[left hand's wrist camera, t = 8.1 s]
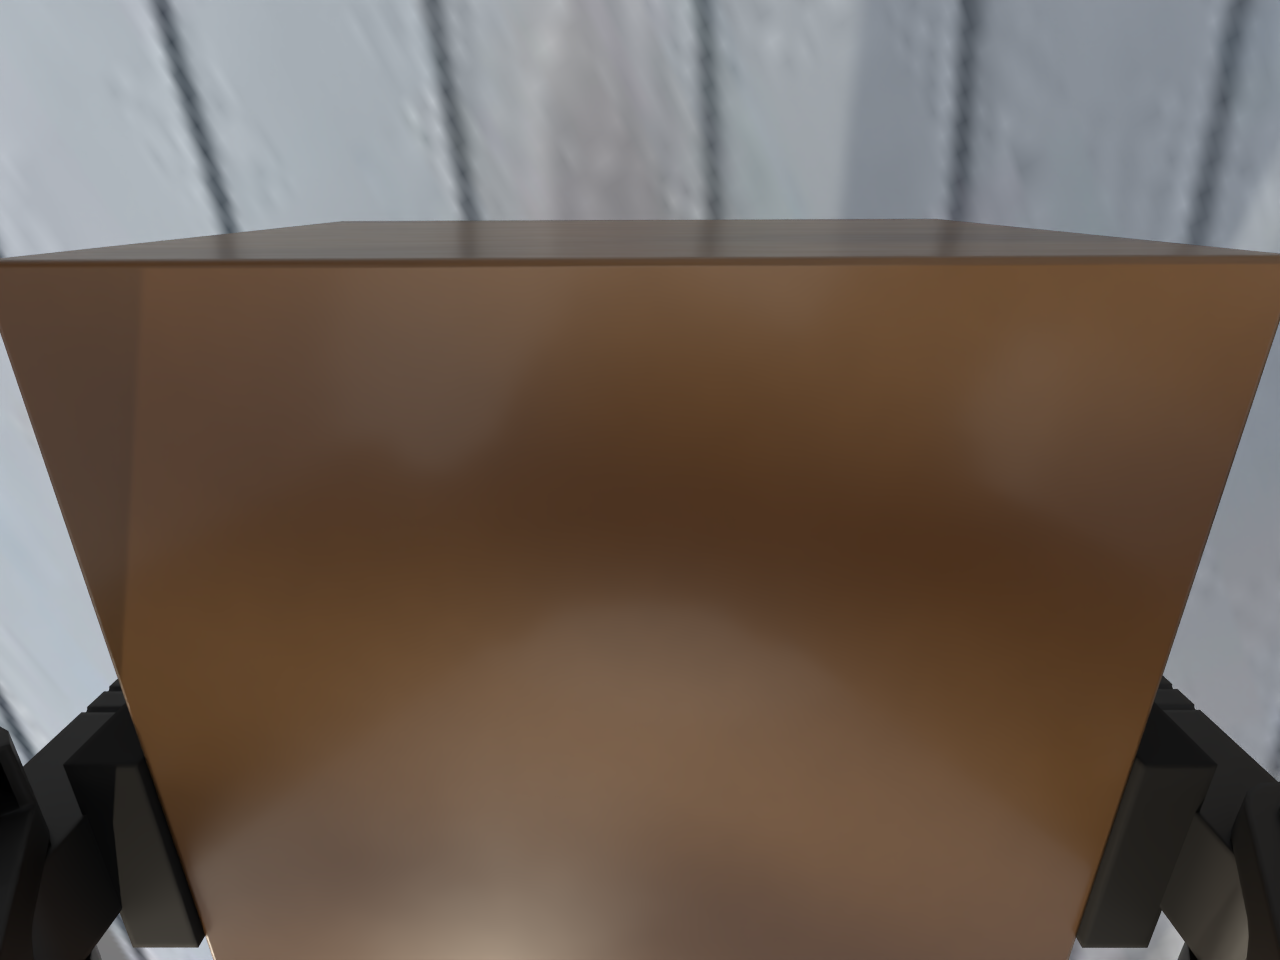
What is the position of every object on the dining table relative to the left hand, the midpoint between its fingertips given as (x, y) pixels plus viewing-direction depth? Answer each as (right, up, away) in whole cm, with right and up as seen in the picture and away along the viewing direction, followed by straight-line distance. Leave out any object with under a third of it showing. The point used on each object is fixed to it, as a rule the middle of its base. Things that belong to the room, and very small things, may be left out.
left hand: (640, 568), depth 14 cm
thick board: (0, -28, +12) cm, 31 cm away
